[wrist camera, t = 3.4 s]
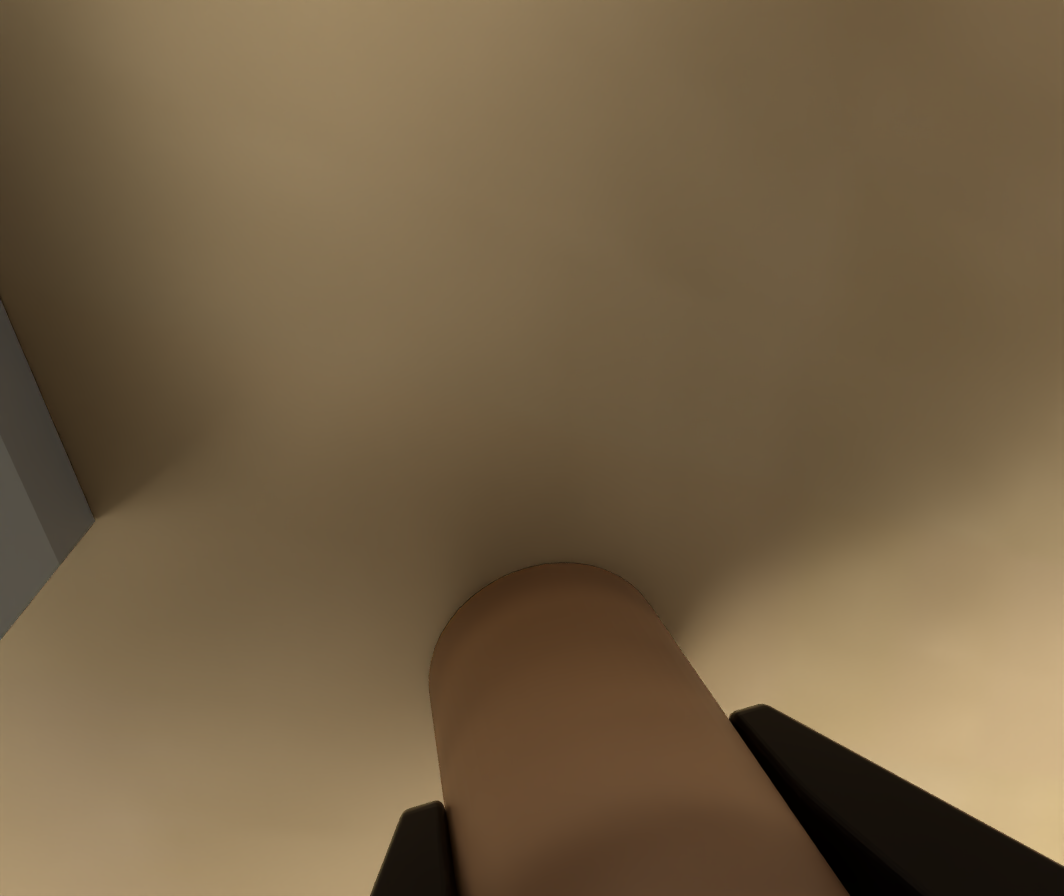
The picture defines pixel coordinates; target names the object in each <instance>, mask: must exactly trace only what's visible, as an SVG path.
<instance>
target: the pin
mask: <svg viewBox="0 0 1064 896" xmlns="http://www.w3.org/2000/svg"><path fill="white" fill-rule="evenodd" d="M429 693H430V701H431V708H432V716H433V723H434V731H435V738H436V746H437V753H438V761H439V768H440V776H441V783H442V791H443V798H444V805H445V811H446V815H447V823H448V830H449V838H450V845H451V853H452V860H453V867H454V875H455V882H456V890H457V896H850V895H849V893H848V892H847V890H846V889H845V888H844V886H843V885H842V883H841V882H840V880H839V879H838V877H837V876H836V874H835V873H834V872H833V870H832V869H831V867H830V866H829V864H828V863H827V861H826V860H825V858H824V857H823V856H822V854H821V853H820V851H819V850H818V848H817V847H816V845H815V844H814V843H813V841H812V840H811V838H810V837H809V835H808V834H807V832H806V831H805V829H804V828H803V827H802V825H801V824H800V822H799V821H798V819H797V818H796V816H795V815H794V814H793V812H792V811H791V809H790V808H789V806H788V805H787V803H786V802H785V800H784V799H783V798H782V796H781V795H780V793H779V792H778V790H777V789H776V787H775V786H774V784H773V783H772V782H771V780H770V779H769V777H768V776H767V774H766V773H765V771H764V770H763V769H762V767H761V766H760V764H759V763H758V761H757V760H756V758H755V757H754V755H753V754H752V753H751V751H750V750H749V748H748V747H747V745H746V744H745V742H744V741H743V740H742V738H741V737H740V735H739V734H738V732H737V731H736V729H735V728H734V726H733V725H732V724H731V722H730V721H729V719H728V718H727V716H726V715H725V713H724V712H723V710H722V709H721V708H720V706H719V705H718V703H717V702H716V700H715V699H714V697H713V696H712V695H711V693H710V692H709V690H708V689H707V687H706V686H705V684H704V683H703V681H702V680H701V679H700V677H699V676H698V674H697V673H696V671H695V670H694V668H693V667H692V665H691V664H690V663H689V661H688V660H687V658H686V657H685V655H684V654H683V652H682V651H681V650H680V648H679V647H678V645H677V644H676V642H675V641H674V639H673V638H672V636H671V635H670V634H669V632H668V631H667V629H666V628H665V626H664V625H663V623H662V622H661V621H660V619H659V618H658V616H657V615H656V613H655V612H654V610H653V609H652V607H651V606H650V605H649V603H648V602H647V601H646V599H645V598H644V597H643V596H642V594H641V593H640V592H639V591H638V590H637V589H636V588H635V587H633V586H632V585H631V584H630V583H628V582H627V581H625V580H624V579H623V578H621V577H620V576H617V575H615V574H613V573H611V572H609V571H607V570H604V569H601V568H598V567H594V566H590V565H584V564H578V563H551V564H543V565H538V566H533V567H529V568H525V569H522V570H519V571H516V572H513V573H511V574H509V575H507V576H504V577H502V578H500V579H498V580H496V581H494V582H493V583H491V584H489V585H488V586H486V587H484V588H483V589H482V590H480V591H479V592H478V593H476V594H475V595H474V596H472V597H471V598H470V599H469V600H468V601H467V602H466V603H465V604H464V605H463V606H462V607H461V608H460V609H459V610H458V611H457V612H456V614H455V615H454V616H453V617H452V618H451V620H450V621H449V622H448V624H447V626H446V627H445V629H444V630H443V632H442V634H441V636H440V638H439V640H438V642H437V644H436V647H435V649H434V653H433V656H432V659H431V664H430V671H429Z"/></svg>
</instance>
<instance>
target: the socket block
mask: <svg viewBox="0 0 1064 896" xmlns="http://www.w3.org/2000/svg"><path fill="white" fill-rule="evenodd" d="M94 522H95V520H94V517H93V515H92V513H91V510H90V508H89V506H88V503H87V501H86V498H85V496H84V494H83V491H82V489H81V487H80V484H79V482H78V480H77V477H76V475H75V473H74V470H73V468H72V466H71V463H70V461H69V459H68V456H67V454H66V452H65V449H64V447H63V445H62V442H61V440H60V438H59V435H58V433H57V430H56V428H55V426H54V423H53V421H52V419H51V416H50V414H49V412H48V409H47V407H46V405H45V402H44V400H43V398H42V395H41V393H40V391H39V388H38V386H37V384H36V381H35V379H34V377H33V374H32V372H31V369H30V367H29V365H28V362H27V360H26V358H25V355H24V353H23V351H22V348H21V346H20V344H19V341H18V339H17V337H16V334H15V332H14V330H13V327H12V325H11V323H10V320H9V318H8V316H7V313H6V311H5V309H4V306H3V304H2V301H1V299H0V640H1V639H2V637H3V636H4V635H5V634H6V632H7V631H8V630H9V629H10V627H11V626H12V625H13V624H14V622H15V621H16V620H17V619H18V617H19V616H20V615H21V614H22V612H23V611H24V610H25V609H26V607H27V606H28V605H29V604H30V602H31V601H32V600H33V599H34V597H35V596H36V595H37V594H38V592H39V591H40V590H41V589H42V587H43V586H44V585H45V583H46V582H47V581H48V580H49V578H50V577H51V576H52V575H53V573H54V572H55V571H56V570H57V568H58V567H59V566H60V565H61V563H62V562H63V561H64V560H65V558H66V557H67V556H68V555H69V553H70V552H71V551H72V550H73V548H74V547H75V546H76V545H77V543H78V542H79V541H80V540H81V538H82V537H83V536H84V535H85V533H86V532H87V531H88V530H89V528H90V527H91V526H92V525H93V523H94Z"/></svg>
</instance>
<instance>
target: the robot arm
mask: <svg viewBox="0 0 1064 896" xmlns="http://www.w3.org/2000/svg"><path fill="white" fill-rule="evenodd" d="M729 721H730V722H731V724H732V725H733V726H734V728H735V729H736V731H737V732H738V734H739V735H740V737H741V738H742V740H743V741H744V742H745V744H746V745H747V747H748V748H749V750H750V751H751V753H752V754H753V755H754V757H755V758H756V760H757V761H758V763H759V764H760V766H761V767H762V769H763V770H764V771H765V773H766V774H767V776H768V777H769V779H770V780H771V782H772V783H773V784H774V786H775V787H776V789H777V790H778V792H779V793H780V795H781V796H782V798H783V799H784V800H785V802H786V803H787V805H788V806H789V808H790V809H791V811H792V812H793V814H794V815H795V816H796V818H797V819H798V821H799V822H800V824H801V825H802V827H803V828H804V829H805V831H806V832H807V834H808V835H809V837H810V838H811V840H812V841H813V843H814V844H815V845H816V847H817V848H818V850H819V851H820V853H821V854H822V856H823V857H824V858H825V860H826V861H827V863H828V864H829V866H830V867H831V869H832V870H833V872H834V873H835V874H836V876H837V877H838V879H839V880H840V882H841V883H842V885H843V886H844V888H845V889H846V890H847V892H848V893H849V895H850V896H1064V866H1063V865H1061V864H1059V863H1057V862H1055V861H1053V860H1052V859H1050V858H1048V857H1046V856H1044V855H1042V854H1041V853H1039V852H1037V851H1035V850H1033V849H1031V848H1030V847H1028V846H1026V845H1024V844H1022V843H1020V842H1018V841H1017V840H1015V839H1013V838H1011V837H1009V836H1007V835H1006V834H1004V833H1002V832H1000V831H998V830H996V829H995V828H993V827H991V826H989V825H987V824H985V823H984V822H982V821H980V820H978V819H976V818H974V817H973V816H971V815H969V814H967V813H965V812H963V811H962V810H960V809H958V808H956V807H954V806H952V805H951V804H949V803H947V802H945V801H943V800H941V799H940V798H938V797H936V796H934V795H932V794H930V793H929V792H927V791H925V790H923V789H921V788H919V787H918V786H916V785H914V784H912V783H910V782H908V781H907V780H905V779H903V778H901V777H899V776H897V775H895V774H894V773H892V772H890V771H888V770H886V769H884V768H883V767H881V766H879V765H877V764H875V763H873V762H872V761H870V760H868V759H866V758H864V757H862V756H861V755H859V754H857V753H855V752H853V751H851V750H850V749H848V748H846V747H844V746H842V745H840V744H839V743H837V742H835V741H833V740H831V739H829V738H828V737H826V736H824V735H822V734H820V733H818V732H817V731H815V730H813V729H811V728H809V727H807V726H806V725H804V724H802V723H800V722H798V721H796V720H795V719H793V718H791V717H789V716H787V715H785V714H784V713H782V712H780V711H778V710H776V709H774V708H772V707H771V706H768V705H765V704H758V705H754V706H751V707H747V708H744V709H741V710H737V711H734V712H733V713H731V715H730V716H729ZM370 896H457V890H456V882H455V875H454V867H453V860H452V853H451V845H450V838H449V830H448V823H447V815H446V811H445V808H444V805H443V804H442V803H441V802H440V801H433V802H429V803H426V804H423V805H419V806H416V807H413V808H409V809H407V810H405V811H404V812H403V814H402V815H401V817H400V819H399V822H398V824H397V827H396V830H395V832H394V835H393V837H392V840H391V843H390V845H389V848H388V850H387V853H386V856H385V858H384V861H383V863H382V866H381V869H380V871H379V874H378V876H377V879H376V881H375V884H374V887H373V889H372V892H371V894H370Z"/></svg>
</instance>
